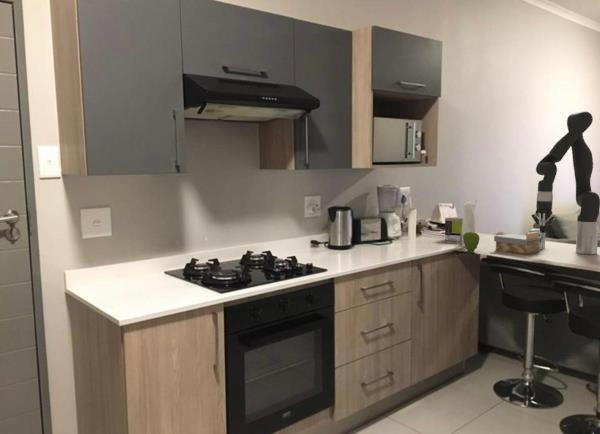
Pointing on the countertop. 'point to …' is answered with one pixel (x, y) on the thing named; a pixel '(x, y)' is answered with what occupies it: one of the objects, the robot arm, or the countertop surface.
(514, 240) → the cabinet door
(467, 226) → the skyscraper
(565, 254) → the countertop surface
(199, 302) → the countertop surface
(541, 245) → the light bulb box
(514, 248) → the wooden box
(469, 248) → the green faceted ovoid
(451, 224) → the tea box
